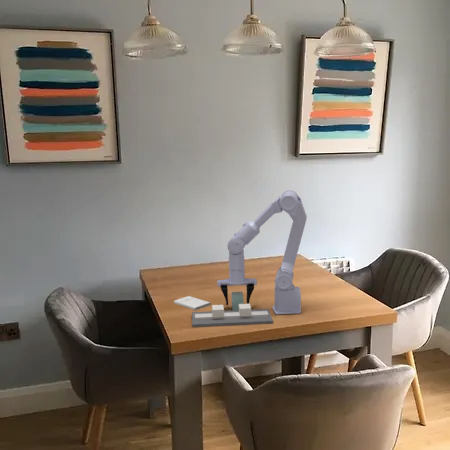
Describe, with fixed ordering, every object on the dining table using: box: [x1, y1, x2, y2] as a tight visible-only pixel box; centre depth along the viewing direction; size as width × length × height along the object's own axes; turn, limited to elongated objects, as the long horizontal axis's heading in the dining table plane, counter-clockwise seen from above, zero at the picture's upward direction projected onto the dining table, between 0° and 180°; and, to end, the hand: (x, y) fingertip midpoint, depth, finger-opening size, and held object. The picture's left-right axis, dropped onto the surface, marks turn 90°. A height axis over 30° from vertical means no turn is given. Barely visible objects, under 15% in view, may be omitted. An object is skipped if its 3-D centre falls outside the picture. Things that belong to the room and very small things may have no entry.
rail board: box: [191, 303, 274, 328], centre depth 190 cm, size 28×12×5 cm, turn 94°
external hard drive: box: [173, 295, 212, 311], centre depth 208 cm, size 2×8×12 cm
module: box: [231, 291, 244, 310], centre depth 200 cm, size 4×5×6 cm
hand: (237, 303), depth 200 cm, fingers open, 7 cm apart
